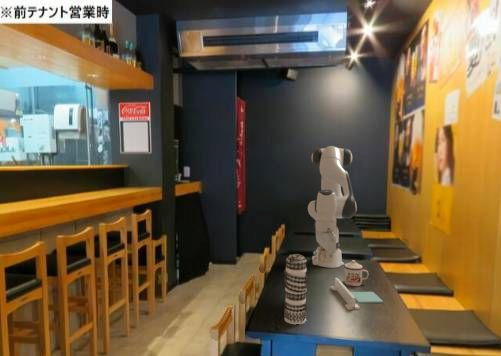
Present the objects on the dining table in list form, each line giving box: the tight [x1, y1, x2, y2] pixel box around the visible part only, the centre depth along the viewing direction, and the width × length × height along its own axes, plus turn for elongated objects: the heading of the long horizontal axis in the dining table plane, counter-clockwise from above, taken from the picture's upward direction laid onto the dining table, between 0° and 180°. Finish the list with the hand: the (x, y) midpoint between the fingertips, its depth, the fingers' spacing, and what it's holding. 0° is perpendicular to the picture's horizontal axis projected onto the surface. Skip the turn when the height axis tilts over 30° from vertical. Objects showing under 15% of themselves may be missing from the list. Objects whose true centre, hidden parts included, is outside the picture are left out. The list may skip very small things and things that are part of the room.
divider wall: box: [330, 277, 361, 311], centre depth 151 cm, size 24×5×5 cm, turn 3°
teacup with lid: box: [343, 259, 370, 287], centre depth 170 cm, size 12×9×12 cm
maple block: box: [318, 248, 333, 262], centre depth 150 cm, size 5×5×5 cm
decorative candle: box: [283, 253, 309, 325], centre depth 130 cm, size 9×9×25 cm
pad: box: [350, 291, 384, 304], centre depth 152 cm, size 11×11×1 cm
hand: (325, 257), depth 150 cm, fingers closed on maple block, 5 cm apart
